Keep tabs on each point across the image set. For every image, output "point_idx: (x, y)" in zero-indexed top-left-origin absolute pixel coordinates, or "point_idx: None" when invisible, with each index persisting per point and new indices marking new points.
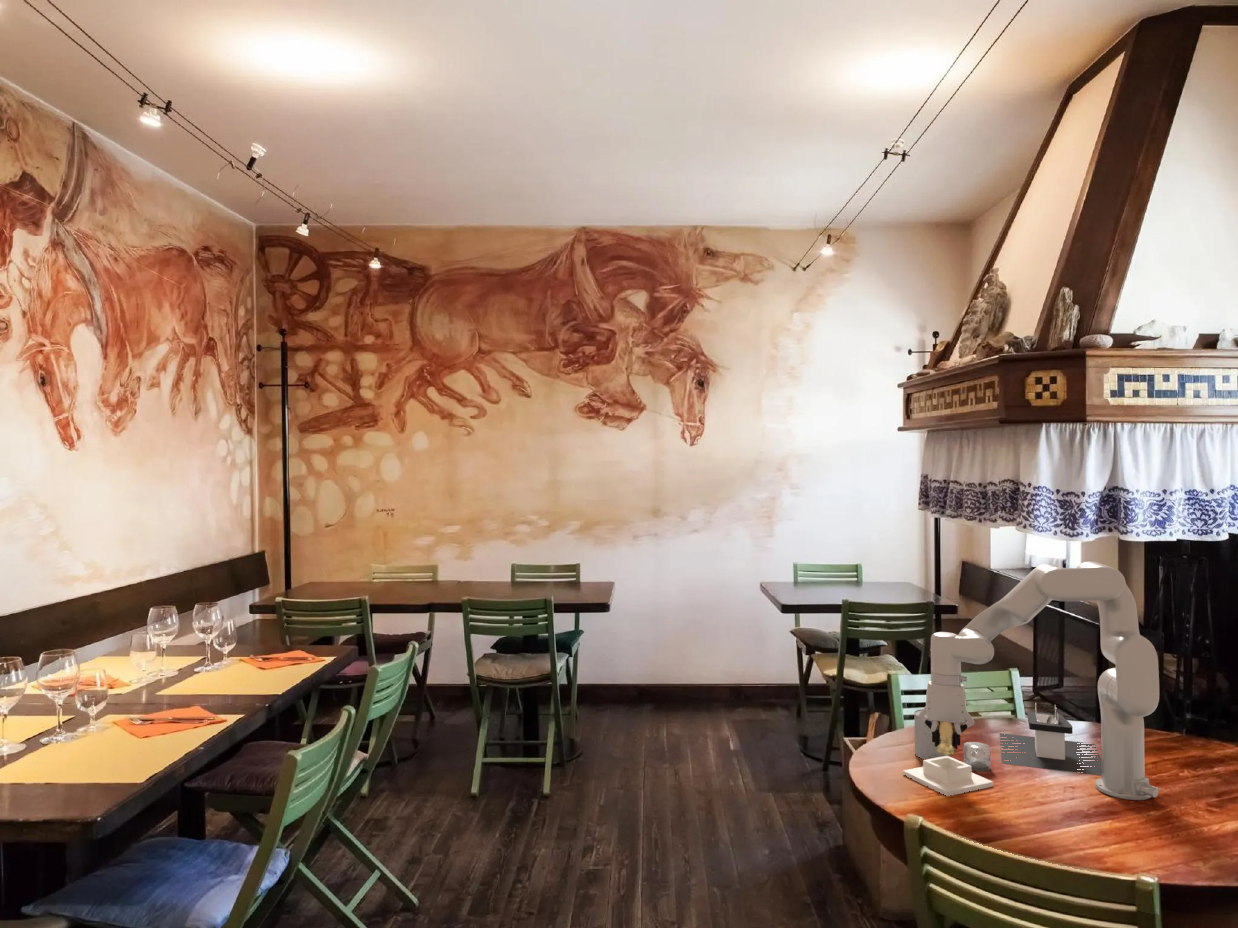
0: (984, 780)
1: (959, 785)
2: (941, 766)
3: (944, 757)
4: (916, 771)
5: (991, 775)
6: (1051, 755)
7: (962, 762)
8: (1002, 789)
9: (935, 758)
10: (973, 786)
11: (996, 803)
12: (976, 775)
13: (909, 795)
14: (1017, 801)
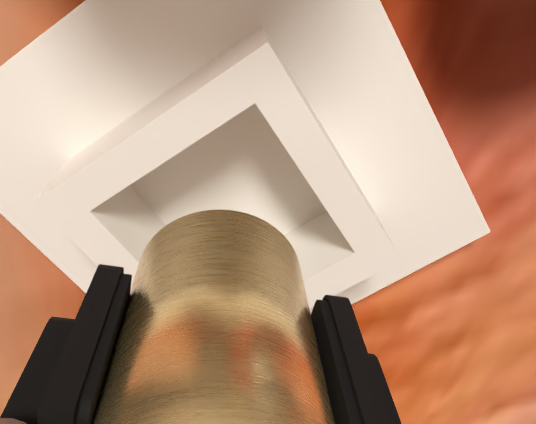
0: (446, 220)
1: None
2: None
3: (231, 100)
4: (18, 137)
5: None
6: None
7: (357, 198)
8: (506, 251)
9: (144, 141)
10: None
11: (396, 396)
12: (431, 145)
13: (9, 388)
14: (500, 365)
